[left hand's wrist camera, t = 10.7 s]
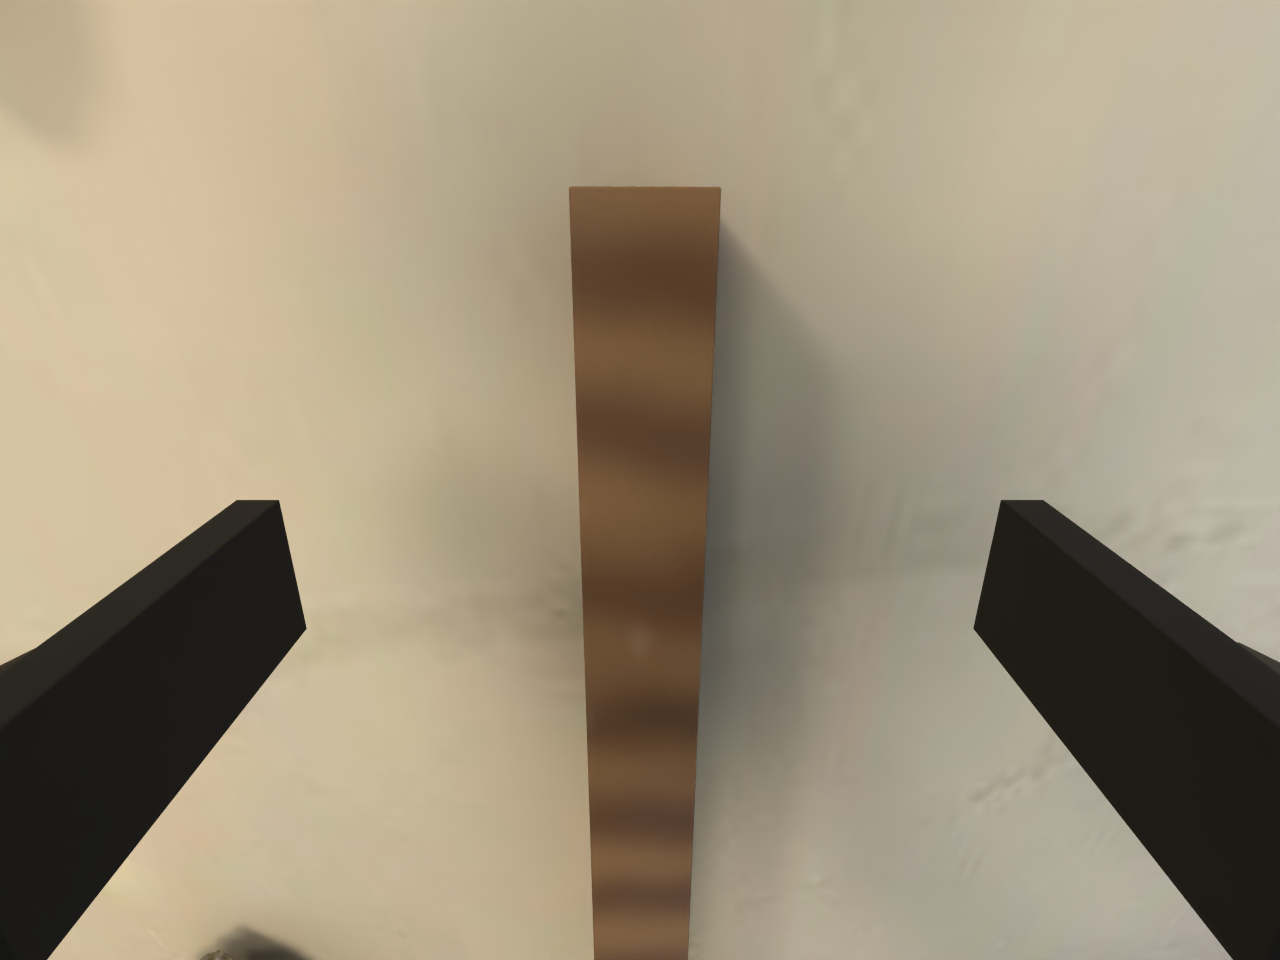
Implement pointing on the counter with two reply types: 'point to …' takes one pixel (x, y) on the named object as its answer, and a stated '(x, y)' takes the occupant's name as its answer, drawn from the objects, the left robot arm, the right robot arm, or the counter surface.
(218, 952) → the fossil
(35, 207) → the counter surface
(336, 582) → the counter surface
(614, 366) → the bar
